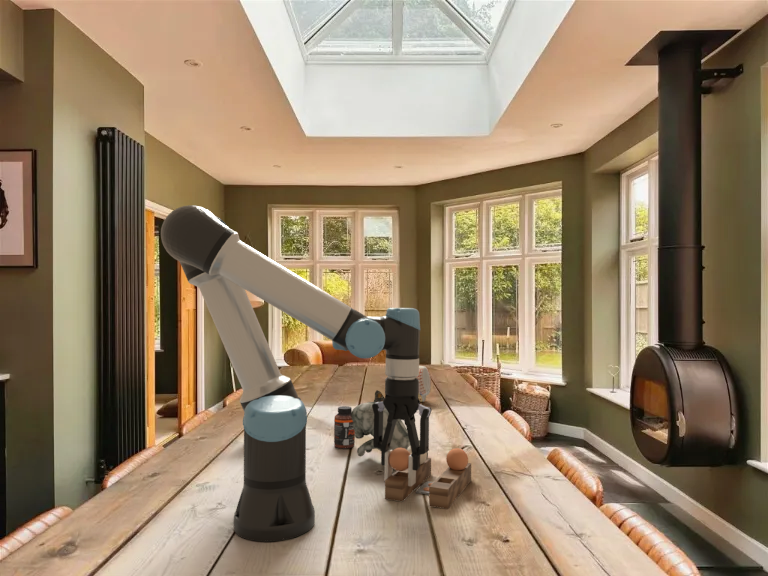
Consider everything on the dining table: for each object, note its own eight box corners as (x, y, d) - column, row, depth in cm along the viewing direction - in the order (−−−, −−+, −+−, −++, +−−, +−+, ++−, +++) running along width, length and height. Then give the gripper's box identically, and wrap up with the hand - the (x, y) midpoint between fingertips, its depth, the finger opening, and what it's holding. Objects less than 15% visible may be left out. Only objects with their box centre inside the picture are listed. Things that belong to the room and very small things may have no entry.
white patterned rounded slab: (408, 397, 233) (408, 362, 234) (420, 396, 234) (420, 362, 235) (421, 407, 213) (421, 368, 213) (435, 406, 214) (435, 368, 214)
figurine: (349, 477, 138) (414, 470, 128) (344, 404, 145) (405, 390, 134) (372, 475, 146) (435, 468, 135) (366, 405, 152) (426, 393, 141)
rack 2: (447, 509, 111) (447, 489, 111) (429, 506, 113) (429, 486, 113) (471, 480, 128) (471, 463, 129) (454, 477, 130) (454, 461, 130)
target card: (434, 495, 119) (434, 493, 119) (415, 492, 120) (415, 490, 120) (444, 485, 125) (444, 483, 125) (426, 482, 127) (426, 480, 127)
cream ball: (422, 469, 125) (422, 447, 126) (402, 466, 127) (402, 445, 128) (429, 463, 130) (429, 442, 130) (410, 460, 132) (410, 440, 132)
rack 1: (402, 501, 115) (402, 482, 115) (385, 498, 117) (385, 480, 117) (431, 474, 133) (431, 458, 133) (415, 472, 134) (415, 456, 134)
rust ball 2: (465, 475, 121) (464, 452, 122) (443, 472, 123) (443, 450, 124) (470, 468, 126) (470, 447, 126) (449, 465, 128) (449, 444, 128)
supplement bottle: (351, 449, 154) (351, 409, 154) (331, 448, 155) (331, 408, 155) (357, 444, 160) (357, 405, 160) (337, 443, 161) (337, 404, 161)
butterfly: (399, 426, 182) (399, 396, 182) (370, 426, 181) (370, 396, 181) (394, 417, 194) (394, 389, 194) (367, 418, 193) (367, 390, 193)
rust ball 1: (406, 475, 117) (407, 452, 117) (385, 472, 119) (385, 449, 119) (414, 469, 122) (415, 446, 122) (394, 465, 124) (394, 443, 124)
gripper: (445, 378, 121) (443, 483, 120) (372, 372, 128) (370, 471, 127) (435, 382, 114) (433, 494, 113) (358, 376, 121) (356, 481, 121)
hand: (400, 482), depth 120 cm, fingers closed on rust ball 1, 5 cm apart
